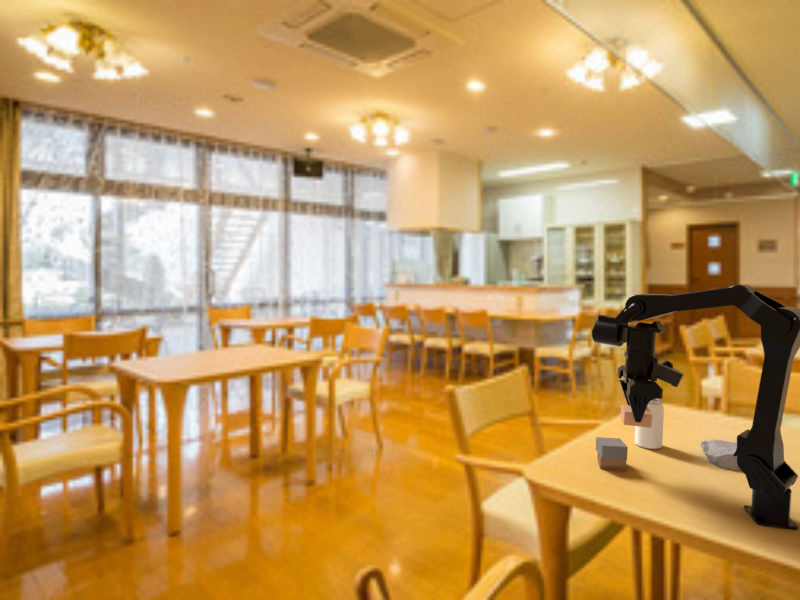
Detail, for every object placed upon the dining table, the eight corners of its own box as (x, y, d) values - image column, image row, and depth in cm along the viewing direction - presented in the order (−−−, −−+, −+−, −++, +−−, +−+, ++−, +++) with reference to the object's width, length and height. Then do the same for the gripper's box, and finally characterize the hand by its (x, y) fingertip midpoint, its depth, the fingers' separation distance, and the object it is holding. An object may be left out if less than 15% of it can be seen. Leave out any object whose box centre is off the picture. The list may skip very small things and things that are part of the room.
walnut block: (625, 472, 110) (626, 459, 110) (600, 469, 111) (600, 457, 111) (621, 463, 115) (622, 451, 115) (597, 460, 117) (597, 448, 116)
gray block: (627, 459, 110) (627, 447, 109) (601, 458, 110) (602, 445, 110) (619, 450, 115) (620, 438, 115) (595, 449, 116) (596, 437, 116)
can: (647, 451, 122) (649, 404, 121) (628, 442, 128) (630, 398, 127) (668, 448, 124) (670, 403, 123) (648, 439, 130) (651, 396, 129)
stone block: (717, 477, 112) (764, 472, 110) (713, 456, 112) (761, 451, 110) (695, 458, 124) (738, 454, 122) (692, 440, 124) (734, 435, 122)
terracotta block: (651, 427, 105) (652, 414, 105) (623, 424, 107) (624, 411, 107) (646, 419, 110) (647, 407, 110) (620, 416, 112) (621, 404, 112)
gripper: (693, 361, 96) (687, 437, 97) (670, 345, 114) (665, 409, 115) (632, 357, 99) (627, 430, 101) (619, 342, 117) (614, 404, 118)
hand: (635, 417), depth 109 cm, fingers closed on terracotta block, 5 cm apart
